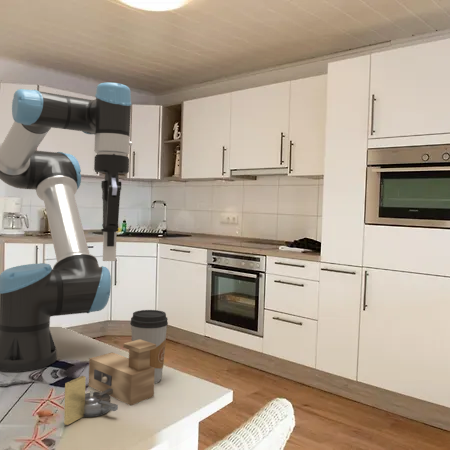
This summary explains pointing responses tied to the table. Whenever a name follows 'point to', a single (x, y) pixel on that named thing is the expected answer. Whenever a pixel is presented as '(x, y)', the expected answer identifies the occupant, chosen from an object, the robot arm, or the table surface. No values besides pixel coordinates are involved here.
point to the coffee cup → (151, 335)
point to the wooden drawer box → (125, 373)
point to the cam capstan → (85, 401)
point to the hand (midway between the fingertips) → (109, 260)
